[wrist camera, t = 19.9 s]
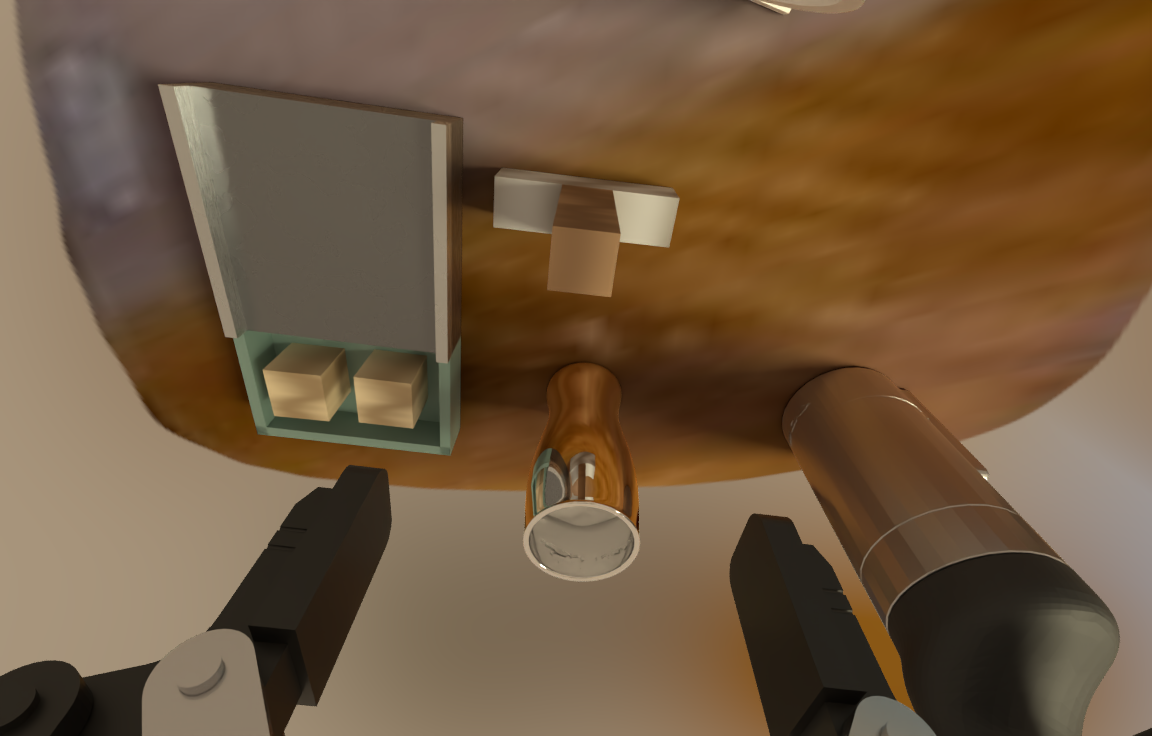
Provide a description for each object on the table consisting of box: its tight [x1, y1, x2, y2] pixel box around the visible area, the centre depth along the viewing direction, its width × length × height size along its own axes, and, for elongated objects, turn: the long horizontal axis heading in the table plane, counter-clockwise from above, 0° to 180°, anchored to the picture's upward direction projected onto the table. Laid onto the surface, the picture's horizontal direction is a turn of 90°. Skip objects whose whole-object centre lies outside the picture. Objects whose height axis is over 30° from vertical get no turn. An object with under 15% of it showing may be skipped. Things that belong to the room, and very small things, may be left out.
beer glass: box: [523, 363, 640, 581], centre depth 34 cm, size 7×7×15 cm
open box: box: [158, 82, 463, 364], centre depth 32 cm, size 15×15×4 cm
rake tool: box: [493, 168, 679, 297], centre depth 28 cm, size 11×3×12 cm, turn 84°
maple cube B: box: [263, 343, 351, 421], centre depth 38 cm, size 4×4×4 cm
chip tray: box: [233, 330, 461, 455], centre depth 39 cm, size 15×9×4 cm, turn 83°
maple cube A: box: [353, 349, 428, 429], centre depth 38 cm, size 4×4×4 cm
